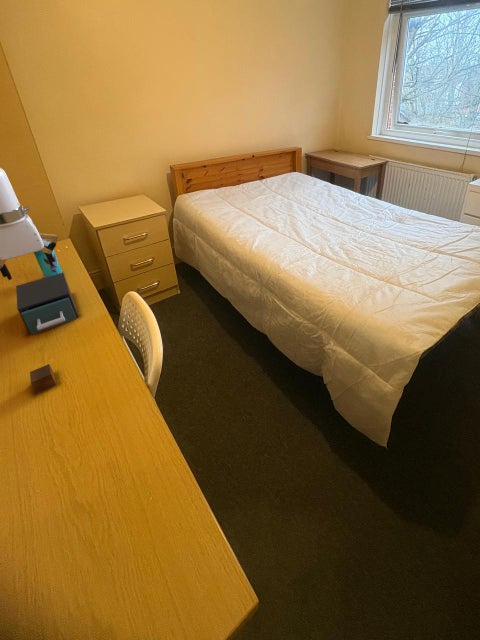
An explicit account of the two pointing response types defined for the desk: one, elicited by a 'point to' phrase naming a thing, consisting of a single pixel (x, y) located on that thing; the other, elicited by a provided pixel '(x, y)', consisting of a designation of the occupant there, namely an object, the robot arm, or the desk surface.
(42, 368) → the block
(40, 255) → the beverage can
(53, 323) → the drawer
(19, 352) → the desk surface
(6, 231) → the robot arm
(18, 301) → the cabinet
